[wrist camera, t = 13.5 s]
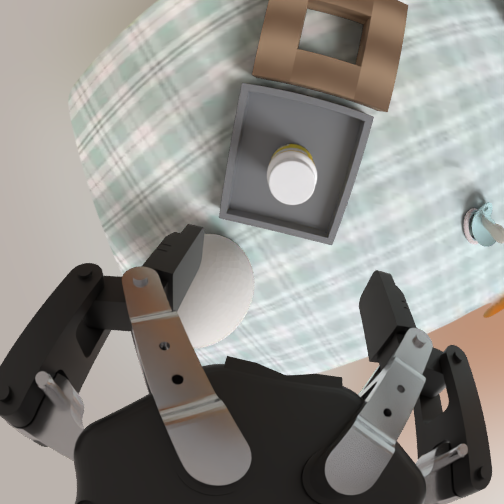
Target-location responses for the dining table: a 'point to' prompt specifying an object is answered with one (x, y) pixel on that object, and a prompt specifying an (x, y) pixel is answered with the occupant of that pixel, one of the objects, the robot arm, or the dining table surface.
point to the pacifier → (483, 227)
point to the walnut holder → (330, 69)
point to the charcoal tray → (299, 132)
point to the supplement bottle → (292, 174)
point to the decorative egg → (217, 292)
